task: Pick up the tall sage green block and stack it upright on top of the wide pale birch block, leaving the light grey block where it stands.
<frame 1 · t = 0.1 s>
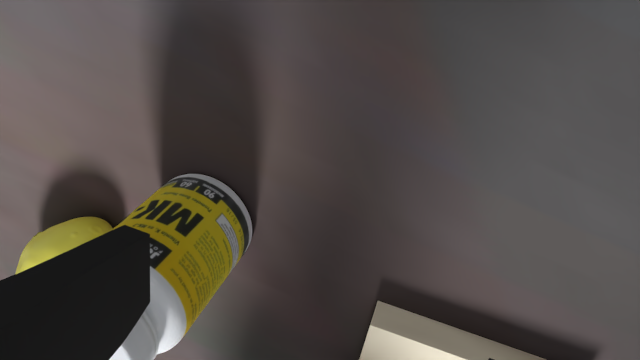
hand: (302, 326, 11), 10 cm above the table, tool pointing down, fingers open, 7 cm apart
lemon: (88, 246, 28), on the table
supplement bottle: (209, 213, 24), on the table
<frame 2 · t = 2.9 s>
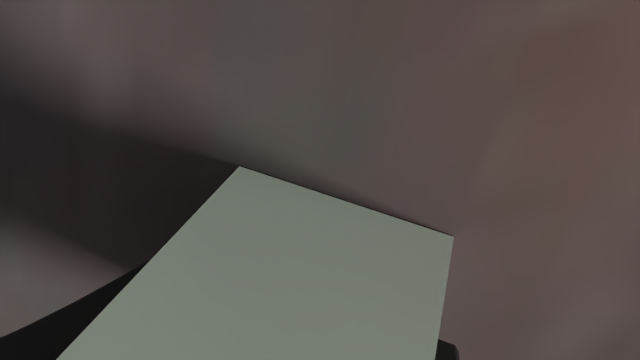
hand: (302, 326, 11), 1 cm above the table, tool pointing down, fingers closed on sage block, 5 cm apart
sage block: (322, 281, 12), on the table, touching gripper
when the fingers open (5 cm above the table, at t = 8.6 s): sage block drops 2 cm, point 1 cm above the table.
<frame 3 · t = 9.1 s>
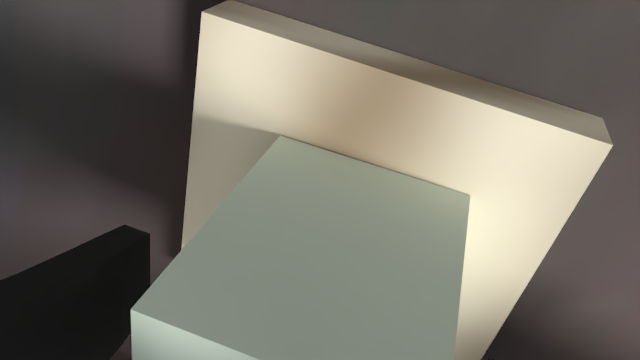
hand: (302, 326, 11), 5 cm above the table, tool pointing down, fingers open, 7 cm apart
sage block: (351, 240, 13), point 1 cm above the table
birch block: (362, 196, 15), on the table
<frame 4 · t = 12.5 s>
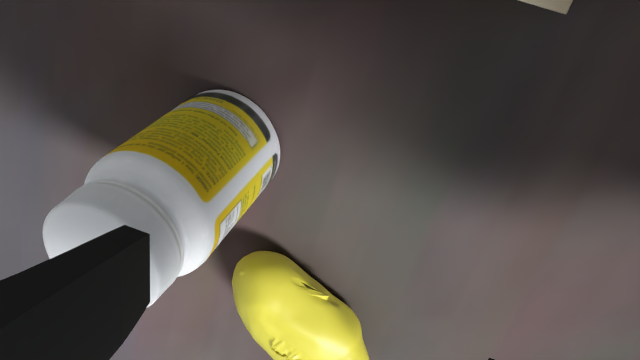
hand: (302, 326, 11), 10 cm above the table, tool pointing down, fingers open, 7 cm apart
lemon: (316, 294, 25), on the table
supplement bottle: (233, 139, 22), on the table
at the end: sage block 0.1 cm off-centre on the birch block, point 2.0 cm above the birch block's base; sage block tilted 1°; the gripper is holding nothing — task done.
